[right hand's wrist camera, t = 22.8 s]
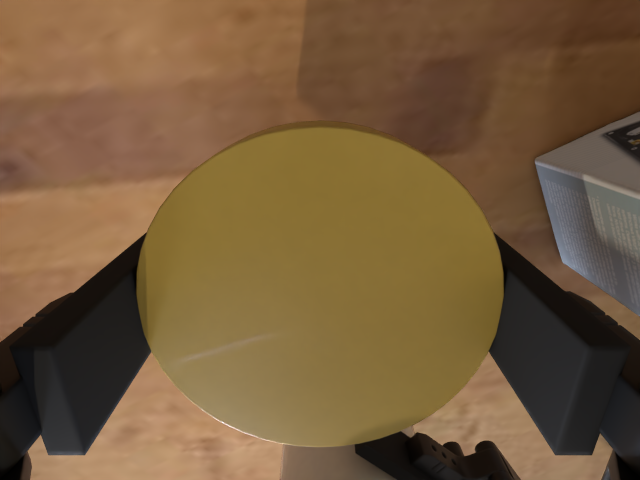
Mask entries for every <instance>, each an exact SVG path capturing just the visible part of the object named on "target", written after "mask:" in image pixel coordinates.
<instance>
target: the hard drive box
mask: <svg viewBox="0 0 640 480" xmlns="http://www.w3.org/2000/svg"><path fill="white" fill-rule="evenodd" d="M535 164H536V169H537V173H538V176H539V180H540V184H541V187H542V191H543V195H544V199H545V202H546V206H547V210H548V213H549V217H550V221H551V224H552V228H553V232H554V236H555V239H556V243H557V246H558V249H559V252H560V256H561V259H562V262H563V263H564V264H566V265H568V266H569V267H570V268H572V269H573V270H575V271H576V272H578V273H579V274H580V275H582V276H583V277H585V278H586V279H587V280H589V281H590V282H592V283H593V284H595V285H596V286H597V287H599V288H600V289H602V290H603V291H605V292H606V293H608V294H609V295H610V296H612V297H613V298H615V299H616V300H617V301H619V302H620V303H622V304H623V305H624V306H626V307H627V308H629V309H630V310H631V311H633V312H634V313H636V314H637V315H638V316H640V112H637V113H635V114H633V115H631V116H628V117H626V118H624V119H622V120H619V121H616V122H613V123H610V124H608V125H606V126H605V127H602V128H600V129H598V130H595V131H593V132H591V133H589V134H587V135H584V136H583V137H580V138H578V139H576V140H574V141H572V142H570V143H568V144H565V145H563V146H561V147H559V148H557V149H555V150H552V151H550V152H548V153H546V154H543V155H541V156H539V157H537V158H536V159H535Z"/></svg>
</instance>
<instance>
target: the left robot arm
mask: <svg viewBox="0 0 640 480" xmlns="http://www.w3.org/2000/svg"><path fill="white" fill-rule="evenodd" d="M354 445H355V453H356V454H357V455H359V456H360V457H362V458H364V459H365V460H367V461H368V462H370V463H371V464H373V465H375V466H376V467H378V468H379V469H381V470H382V471H384V472H386V473H387V474H389V475H390V476H392V477H393V478H395V479H397V480H521V479H520V478H519V477H518V475H517V474H516V473H515V471H514V470H513V468H512V467H511V466H510V464H509V463H508V462H507V460H506V459H505V458H504V456H503V455H502V453H501V452H500V451H499V449H498V448H497V447H496V445H495V444H494V443H493V442H491V441H482V442H480V443H478V444H477V445H476V447H475V452H476V453H474V454H471V455H468V456H464V454H463V452H462V450H461V447H460V445H459V444H458V443H456V442H447V443H445V444H444V445H443V446H442V445H440V444H438V442H436V441H435V440H433V439H432V438H430V437H429V436H427V435H426V434H422V433H418V432H417V433H416V434H415V435H413V436H412V437H411V438H410V437H409V436H407V435H406V434H404V433H403V432H402V431H399V432H397V433H394V434H391V435H388V436H385V437H383V438H380V439H376V440H372V441H367V442H363V443H359V444H354Z"/></svg>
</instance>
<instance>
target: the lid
mask: <svg viewBox="0 0 640 480" xmlns="http://www.w3.org/2000/svg"><path fill="white" fill-rule="evenodd" d="M136 297H137V303H138V308H139V313H140V318H141V323H142V327H143V332H144V335H145V337H146V340H147V342H148V344H149V347H150V349H151V351H152V353H153V355H154V357H155V358H156V360H157V362H158V363H159V365H160V367H161V368H162V370H163V371H164V372H165V374H166V375H167V376H168V377H169V379H170V380H171V381H172V382H173V384H174V385H175V386H176V387H177V388H178V389H179V390H180V391H181V392H182V393H183V394H184V395H185V396H186V397H187V398H188V399H189V400H190V401H192V402H193V403H194V404H195V405H197V406H198V407H199V408H200V409H202V410H203V411H204V412H206V413H207V414H209V415H211V416H212V417H214V418H215V419H217V420H219V421H220V422H222V423H224V424H226V425H228V426H230V427H232V428H234V429H236V430H239V431H241V432H243V433H246V434H249V435H252V436H255V437H257V438H260V439H264V440H268V441H272V442H276V443H281V444H288V445H295V446H306V447H334V446H345V445H352V444H359V443H363V442H367V441H372V440H376V439H380V438H383V437H385V436H388V435H391V434H394V433H397V432H399V431H401V430H404V429H406V428H408V427H410V426H412V425H414V424H416V423H418V422H420V421H421V420H423V419H425V418H426V417H428V416H430V415H431V414H433V413H434V412H436V411H437V410H438V409H440V408H441V407H442V406H443V405H445V404H446V403H447V402H449V401H450V400H451V399H452V398H453V397H454V396H455V395H456V394H457V393H458V392H459V391H460V390H461V389H462V388H463V387H464V386H465V385H466V384H467V383H468V381H469V380H470V379H471V378H472V376H473V375H474V374H475V373H476V371H477V370H478V368H479V367H480V365H481V363H482V362H483V360H484V359H485V357H486V355H487V354H488V351H489V349H490V347H491V345H492V342H493V340H494V338H495V336H496V332H497V328H498V323H499V319H500V314H501V309H502V303H503V298H504V272H503V266H502V261H501V255H500V250H499V247H498V244H497V241H496V239H495V236H494V233H493V230H492V228H491V226H490V224H489V222H488V220H487V218H486V216H485V215H484V213H483V211H482V209H481V208H480V206H479V205H478V204H477V202H476V201H475V199H474V198H473V197H472V195H471V194H470V193H469V191H468V190H467V189H466V188H465V187H464V186H463V185H462V184H461V183H460V182H459V181H458V180H457V179H456V178H455V177H454V176H453V175H452V174H451V173H450V172H449V171H448V170H446V169H445V168H443V167H442V166H441V165H439V164H438V163H437V162H435V161H434V160H433V159H431V158H430V157H428V156H427V155H425V154H424V153H422V152H420V151H419V150H417V149H416V148H414V147H412V146H410V145H409V144H407V143H405V142H403V141H401V140H399V139H397V138H395V137H394V136H391V135H389V134H386V133H383V132H380V131H378V130H375V129H372V128H369V127H365V126H360V125H355V124H351V123H346V122H333V121H307V122H295V123H290V124H285V125H280V126H275V127H271V128H268V129H265V130H263V131H260V132H257V133H254V134H251V135H249V136H247V137H245V138H243V139H241V140H239V141H237V142H235V143H233V144H231V145H230V146H228V147H226V148H225V149H223V150H221V151H220V152H218V153H217V154H215V155H214V156H212V157H211V158H209V159H208V160H207V161H205V162H204V163H202V164H201V165H200V166H198V167H197V168H195V169H194V170H193V171H192V172H191V173H190V174H189V175H188V176H186V177H185V178H184V179H183V180H182V181H181V182H180V183H179V184H178V185H177V186H176V187H175V188H174V189H173V191H172V192H171V193H170V195H169V196H168V197H167V199H166V200H165V201H164V203H163V204H162V205H161V206H160V208H159V210H158V212H157V213H156V215H155V217H154V219H153V221H152V223H151V224H150V226H149V228H148V231H147V234H146V237H145V239H144V242H143V245H142V248H141V251H140V257H139V262H138V268H137V280H136Z"/></svg>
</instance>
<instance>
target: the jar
mask: <svg viewBox="0 0 640 480" xmlns="http://www.w3.org/2000/svg"><path fill="white" fill-rule="evenodd" d="M401 431H402V432H403V433H404V434H406V435H407V436H409V437H410V438H411V437H412V436H413V435H415V432H414V429H413V425H412V426H410V427H408V428H406V429H404V430H401ZM280 480H397V479H395V478H393V477H392V476H390V475H389V474H387V473H386V472H384V471H382V470H381V469H379V468H378V467H376V466H375V465H373V464H371V463H370V462H368V461H367V460H365V459H364V458H362V457H360V456H359V455H357V454H356V453H355V445H354V444H352V445H345V446H334V447H306V446H295V445H288V444H283V449H282V459H281V470H280Z"/></svg>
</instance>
